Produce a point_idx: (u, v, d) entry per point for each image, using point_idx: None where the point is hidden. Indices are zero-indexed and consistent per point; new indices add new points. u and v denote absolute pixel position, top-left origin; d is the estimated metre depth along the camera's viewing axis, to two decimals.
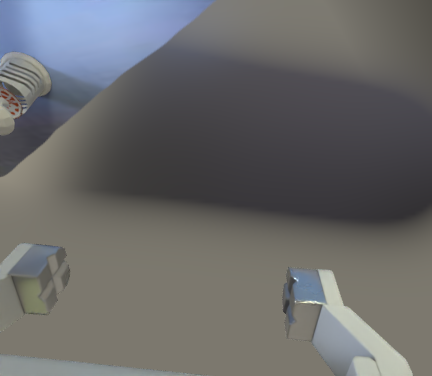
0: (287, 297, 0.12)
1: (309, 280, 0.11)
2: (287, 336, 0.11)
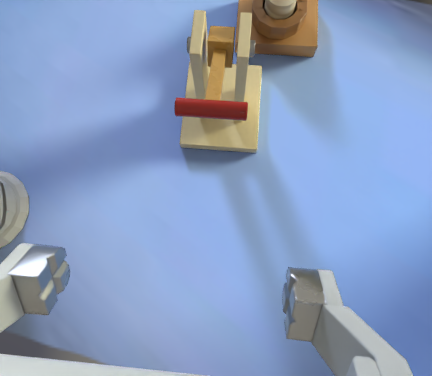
0: (287, 297, 0.12)
1: (309, 280, 0.11)
2: (287, 336, 0.11)
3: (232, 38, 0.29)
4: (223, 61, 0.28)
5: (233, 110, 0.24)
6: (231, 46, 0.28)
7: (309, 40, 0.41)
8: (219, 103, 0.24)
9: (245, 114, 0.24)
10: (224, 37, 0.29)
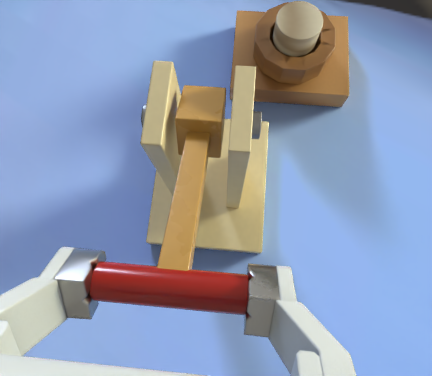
0: None
1: (266, 276, 0.11)
2: (244, 332, 0.11)
3: (220, 112, 0.16)
4: (203, 160, 0.15)
5: (217, 302, 0.11)
6: (218, 127, 0.16)
7: (337, 85, 0.28)
8: (186, 283, 0.11)
9: (243, 310, 0.11)
10: (206, 111, 0.16)
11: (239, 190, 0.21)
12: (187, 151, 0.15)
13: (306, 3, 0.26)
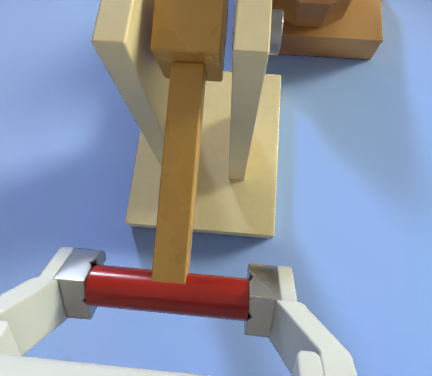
0: None
1: (267, 276, 0.11)
2: (245, 332, 0.11)
3: (219, 31, 0.10)
4: (195, 119, 0.11)
5: (216, 317, 0.11)
6: (216, 58, 0.11)
7: (367, 29, 0.23)
8: (183, 301, 0.10)
9: (242, 320, 0.11)
10: (197, 30, 0.10)
11: (246, 146, 0.16)
12: (174, 102, 0.11)
13: None
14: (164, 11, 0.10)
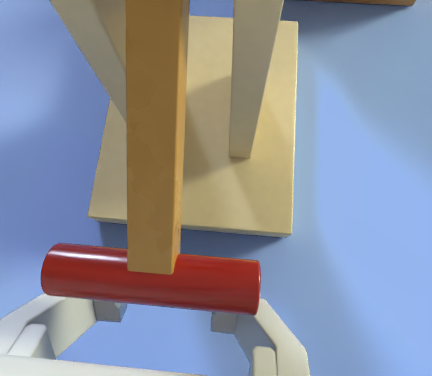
0: None
1: None
2: (211, 328, 0.11)
3: None
4: (175, 29, 0.06)
5: (216, 311, 0.08)
6: None
7: None
8: (172, 296, 0.08)
9: None
10: None
11: (257, 95, 0.10)
12: None
13: None
14: None
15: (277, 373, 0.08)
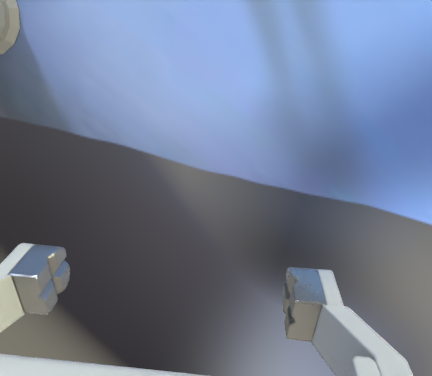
0: (287, 297, 0.12)
1: (309, 280, 0.11)
2: (287, 336, 0.11)
3: None
4: None
5: None
6: None
7: None
8: None
9: None
10: None
11: None
12: None
13: None
14: None
15: None
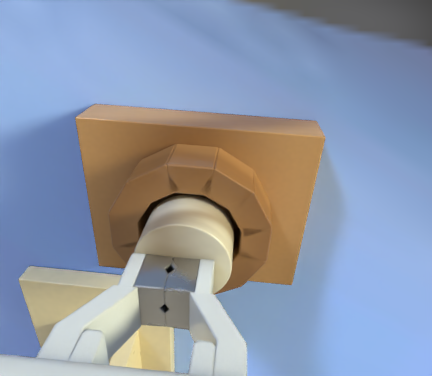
0: None
1: (187, 269, 0.11)
2: (166, 324, 0.11)
3: None
4: None
5: None
6: None
7: (274, 271, 0.17)
8: None
9: None
10: None
11: None
12: None
13: (196, 232, 0.11)
14: None
15: (214, 367, 0.08)
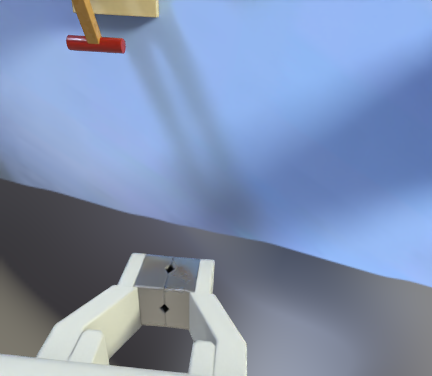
0: None
1: (187, 269, 0.11)
2: (166, 324, 0.11)
3: None
4: None
5: (113, 52, 0.32)
6: None
7: None
8: (100, 49, 0.31)
9: (123, 52, 0.32)
10: None
11: None
12: None
13: None
14: None
15: (214, 366, 0.08)
